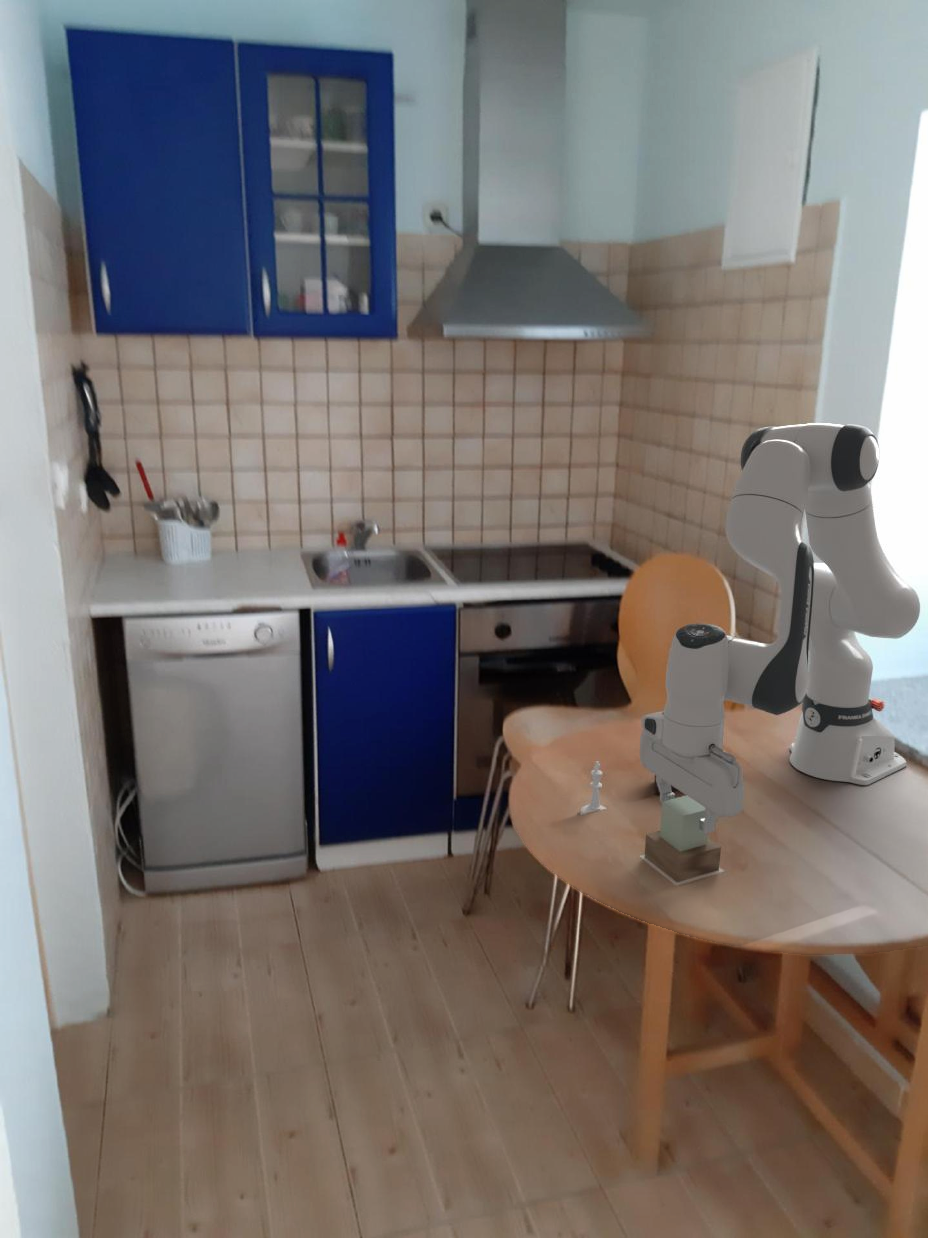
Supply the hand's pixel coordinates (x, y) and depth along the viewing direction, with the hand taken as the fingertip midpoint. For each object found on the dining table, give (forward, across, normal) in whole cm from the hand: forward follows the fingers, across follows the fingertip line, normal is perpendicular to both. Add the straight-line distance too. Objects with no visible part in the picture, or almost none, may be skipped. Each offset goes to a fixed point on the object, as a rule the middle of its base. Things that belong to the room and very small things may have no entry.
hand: (686, 816), depth 145 cm
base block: (+8, 0, 0) cm, 8 cm away
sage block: (+4, 0, 0) cm, 4 cm away
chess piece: (+10, +21, +2) cm, 23 cm away
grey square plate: (+9, 0, -2) cm, 9 cm away
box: (+10, +23, -16) cm, 29 cm away
